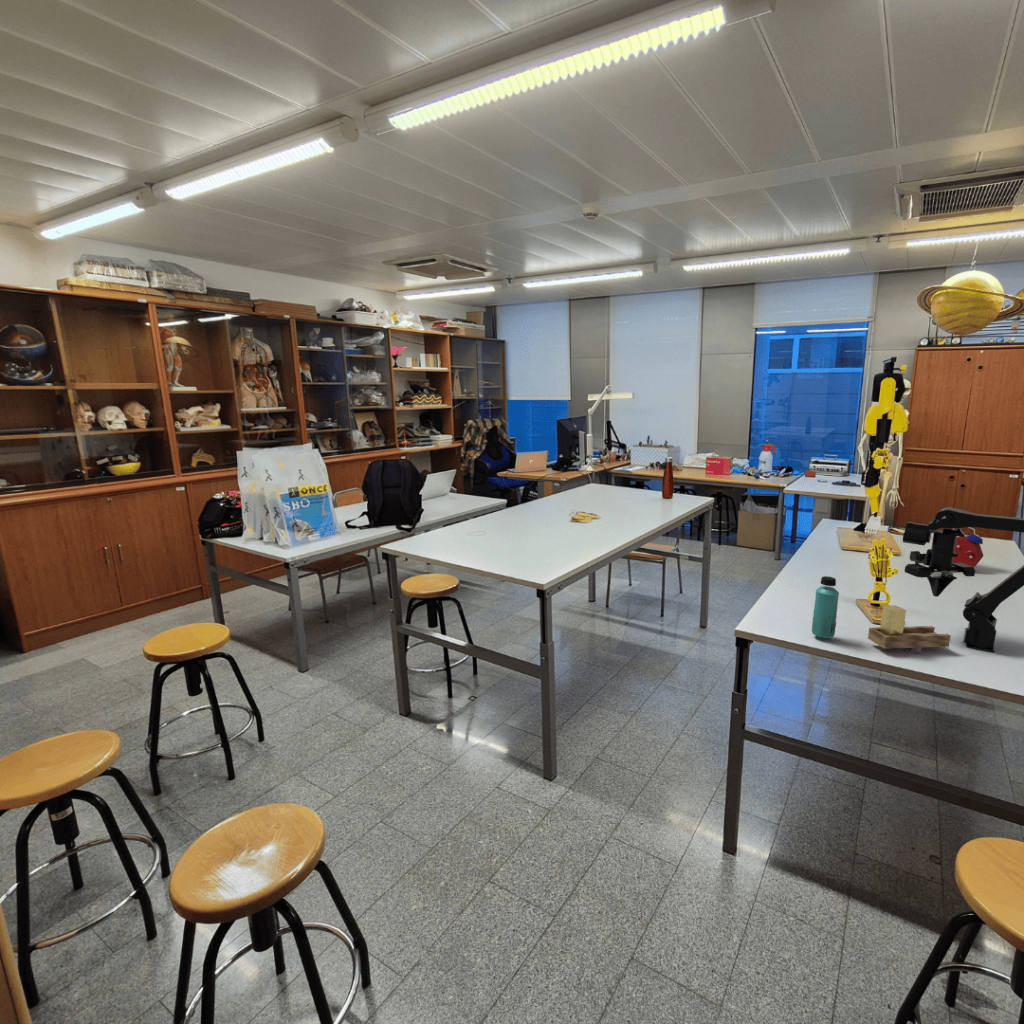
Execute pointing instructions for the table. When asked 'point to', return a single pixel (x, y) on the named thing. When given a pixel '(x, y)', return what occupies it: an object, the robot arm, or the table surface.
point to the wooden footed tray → (910, 639)
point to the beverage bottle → (825, 609)
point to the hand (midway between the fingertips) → (935, 596)
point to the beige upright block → (892, 620)
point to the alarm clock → (968, 549)
